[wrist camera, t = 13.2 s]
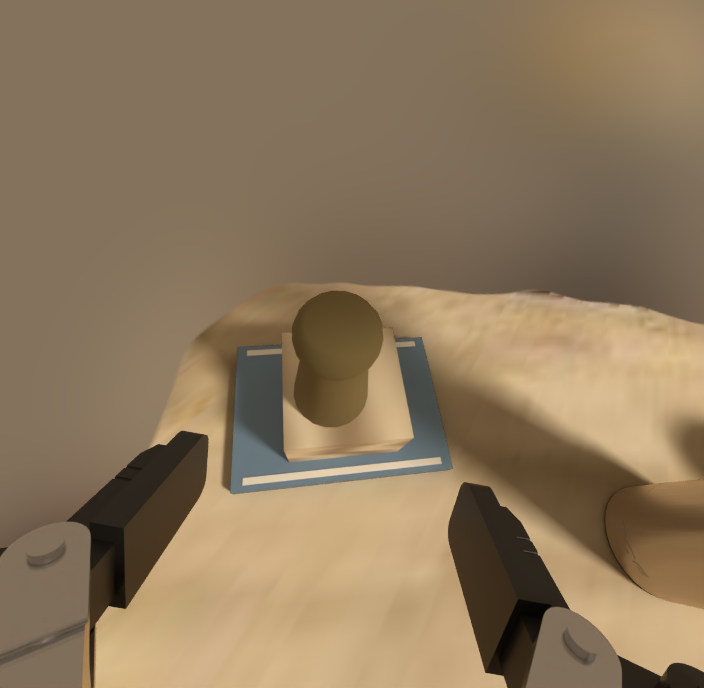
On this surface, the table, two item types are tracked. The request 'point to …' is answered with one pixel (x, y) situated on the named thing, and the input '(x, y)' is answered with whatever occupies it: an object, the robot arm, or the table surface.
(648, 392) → the table surface
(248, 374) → the board
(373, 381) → the maple pedestal
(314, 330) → the cork
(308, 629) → the table surface
